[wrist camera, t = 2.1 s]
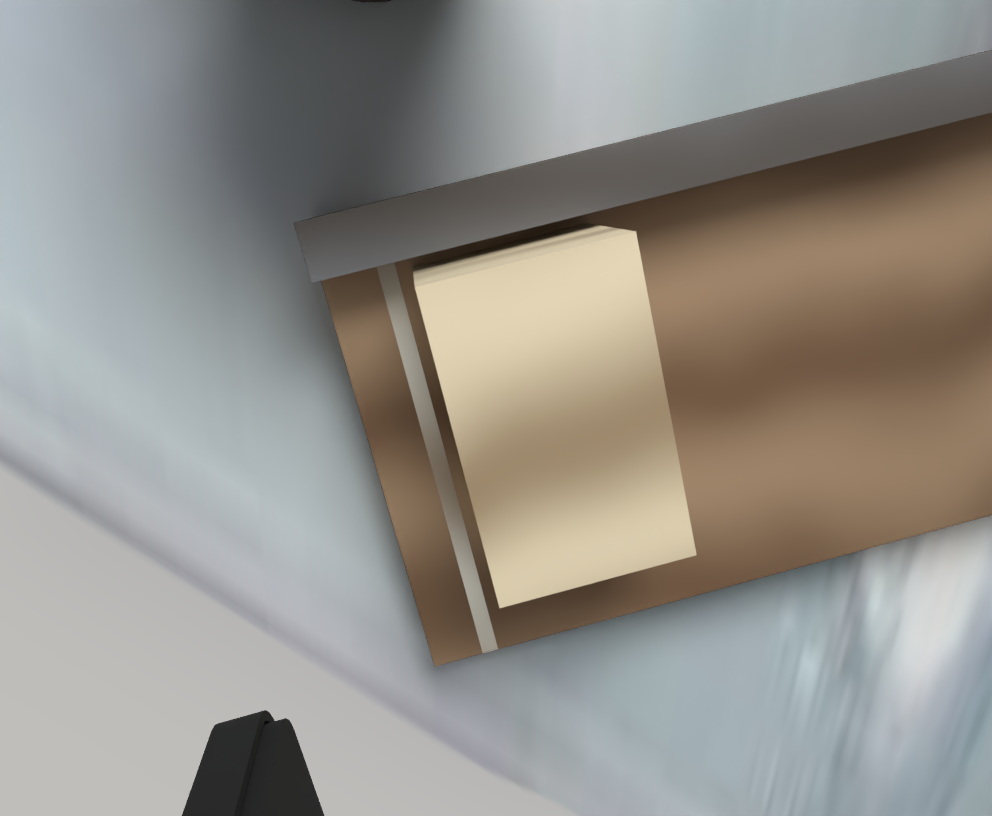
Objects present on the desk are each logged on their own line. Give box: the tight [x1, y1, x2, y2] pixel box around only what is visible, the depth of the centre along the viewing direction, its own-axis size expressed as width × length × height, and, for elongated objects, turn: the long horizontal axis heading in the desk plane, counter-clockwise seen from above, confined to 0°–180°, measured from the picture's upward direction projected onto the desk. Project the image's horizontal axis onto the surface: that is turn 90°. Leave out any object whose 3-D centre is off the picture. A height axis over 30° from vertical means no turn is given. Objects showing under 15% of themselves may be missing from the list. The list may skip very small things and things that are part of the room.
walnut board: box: [294, 50, 992, 666], centre depth 25 cm, size 14×26×4 cm, turn 103°
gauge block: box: [413, 223, 697, 608], centre depth 22 cm, size 9×5×5 cm, turn 13°
